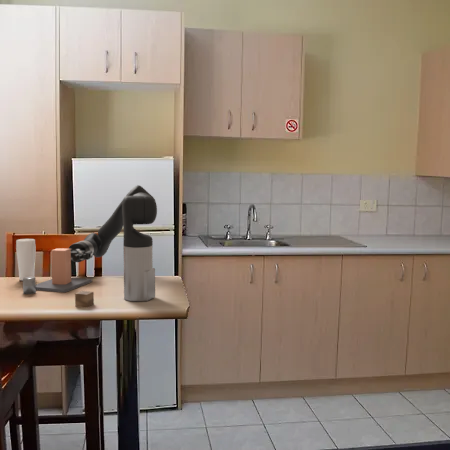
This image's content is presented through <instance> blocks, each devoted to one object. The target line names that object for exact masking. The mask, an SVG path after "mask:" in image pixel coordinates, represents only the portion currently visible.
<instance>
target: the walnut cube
mask: <svg viewBox="0 0 450 450" xmlns="http://www.w3.org/2000/svg"><path fill="white" fill-rule="evenodd" d="M94 295H95V294H94V291H89V290H81V291H79V292H75V293H74V301H75V304H74V305H75V307H80V308H88V307H92V306H93V305H94V304H95V302H94V301H95V300H94Z"/></svg>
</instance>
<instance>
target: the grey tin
mask: <svg viewBox="0 0 450 450" xmlns="http://www.w3.org/2000/svg"><path fill="white" fill-rule="evenodd" d="M36 280H37V279H36V277H35V276H34V277H25V278H23V281H22V292H23V293H22V294H23V295H34V294H37V293H36V292H37V290H36V284H37V282H36Z"/></svg>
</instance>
